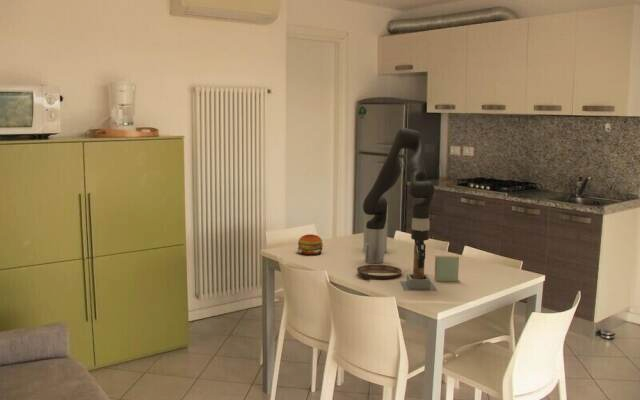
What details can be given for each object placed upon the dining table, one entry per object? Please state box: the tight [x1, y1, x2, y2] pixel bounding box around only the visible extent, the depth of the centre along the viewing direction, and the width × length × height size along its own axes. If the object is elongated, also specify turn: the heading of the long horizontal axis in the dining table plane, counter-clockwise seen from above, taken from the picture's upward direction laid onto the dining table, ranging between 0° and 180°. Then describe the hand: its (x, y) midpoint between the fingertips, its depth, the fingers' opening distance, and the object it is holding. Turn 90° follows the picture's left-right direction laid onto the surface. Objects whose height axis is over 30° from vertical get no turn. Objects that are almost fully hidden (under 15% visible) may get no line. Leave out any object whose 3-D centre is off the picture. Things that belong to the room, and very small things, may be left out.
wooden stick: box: [412, 249, 426, 279], centre depth 258 cm, size 4×4×16 cm
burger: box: [297, 234, 324, 256], centre depth 320 cm, size 14×14×10 cm
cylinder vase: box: [363, 205, 389, 254], centre depth 324 cm, size 12×12×25 cm
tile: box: [433, 254, 460, 282], centre depth 268 cm, size 10×3×12 cm, turn 89°
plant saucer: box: [356, 264, 403, 280], centre depth 278 cm, size 21×21×3 cm
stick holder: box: [399, 273, 438, 292], centre depth 258 cm, size 14×14×5 cm
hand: (419, 265), depth 257 cm, fingers open, 8 cm apart
